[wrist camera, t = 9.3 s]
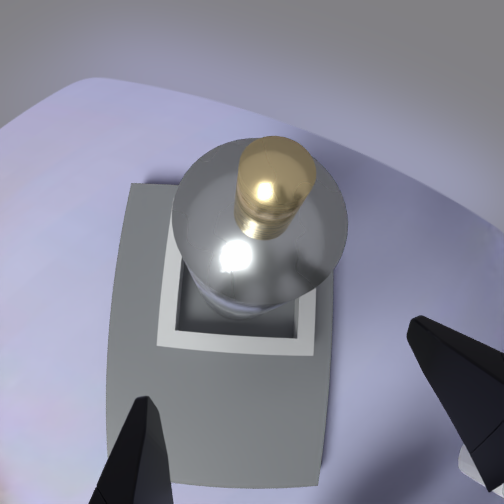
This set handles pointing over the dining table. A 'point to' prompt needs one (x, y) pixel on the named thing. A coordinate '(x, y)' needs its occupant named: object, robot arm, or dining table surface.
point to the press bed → (214, 364)
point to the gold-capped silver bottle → (258, 225)
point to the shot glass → (473, 470)
